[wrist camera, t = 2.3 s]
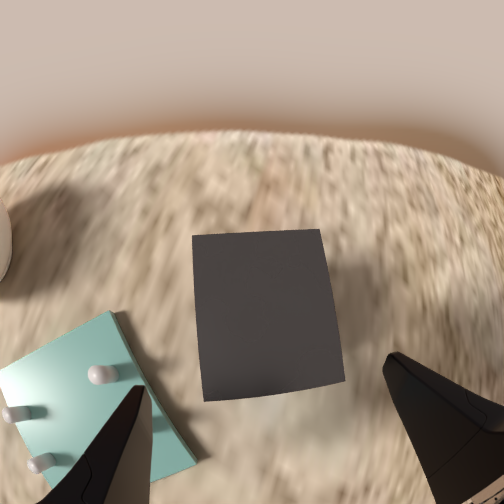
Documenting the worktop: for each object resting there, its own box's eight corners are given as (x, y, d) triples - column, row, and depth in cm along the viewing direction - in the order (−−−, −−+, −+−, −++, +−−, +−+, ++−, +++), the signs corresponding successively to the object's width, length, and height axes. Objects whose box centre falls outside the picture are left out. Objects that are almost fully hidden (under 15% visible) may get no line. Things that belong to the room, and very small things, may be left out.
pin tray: (197, 459, 15) (193, 477, 12) (68, 500, 12) (49, 514, 8) (113, 312, 18) (94, 302, 15) (2, 373, 15) (-23, 370, 12)
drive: (285, 373, 18) (345, 381, 9) (212, 381, 18) (203, 401, 8) (274, 289, 21) (319, 226, 11) (204, 294, 20) (192, 233, 11)
